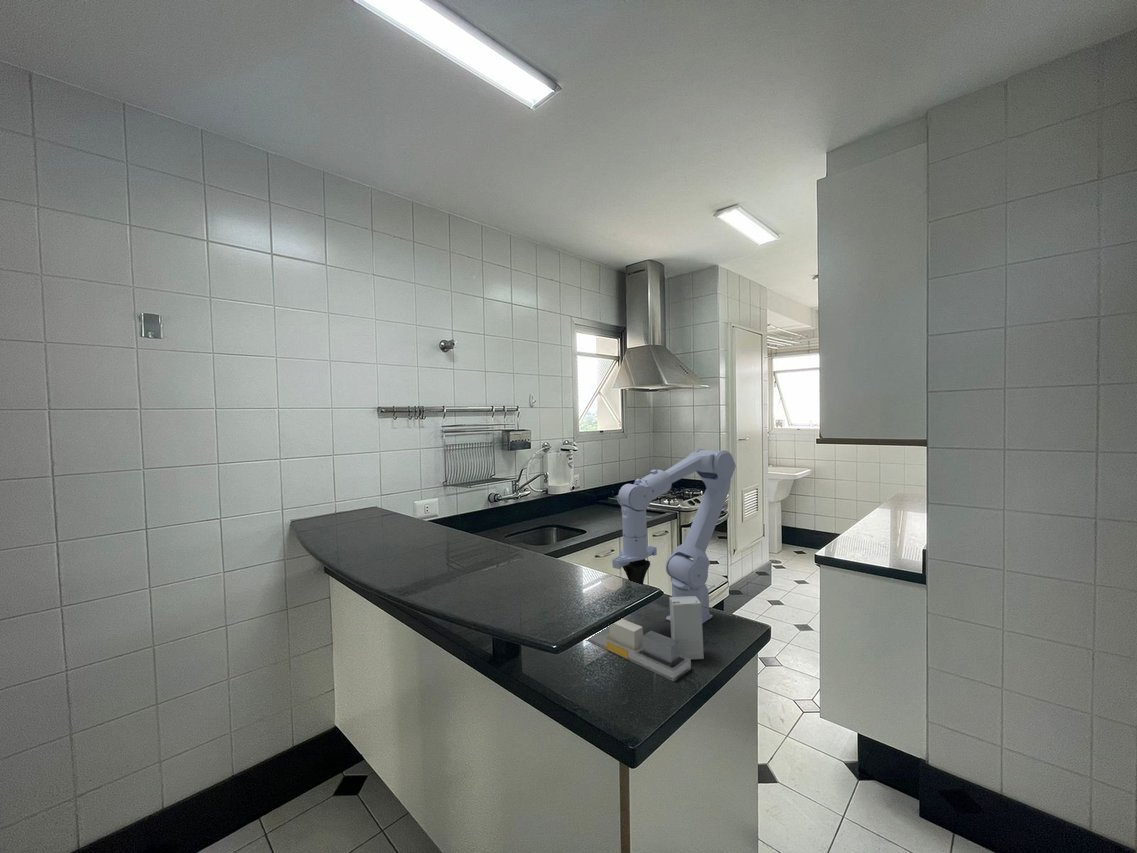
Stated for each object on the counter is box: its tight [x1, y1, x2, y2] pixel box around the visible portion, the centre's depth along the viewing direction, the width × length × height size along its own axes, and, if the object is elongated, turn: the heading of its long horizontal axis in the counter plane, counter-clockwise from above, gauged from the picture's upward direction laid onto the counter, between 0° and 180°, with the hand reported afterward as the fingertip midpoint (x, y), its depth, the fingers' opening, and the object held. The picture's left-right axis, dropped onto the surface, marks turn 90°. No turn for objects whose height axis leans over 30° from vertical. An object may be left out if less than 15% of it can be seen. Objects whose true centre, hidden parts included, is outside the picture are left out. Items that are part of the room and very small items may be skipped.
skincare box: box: [669, 596, 705, 660], centre depth 93 cm, size 6×4×12 cm
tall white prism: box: [610, 618, 644, 651], centre depth 97 cm, size 3×7×5 cm, turn 43°
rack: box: [586, 626, 692, 682], centre depth 97 cm, size 6×29×6 cm, turn 43°
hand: (636, 591), depth 104 cm, fingers closed
